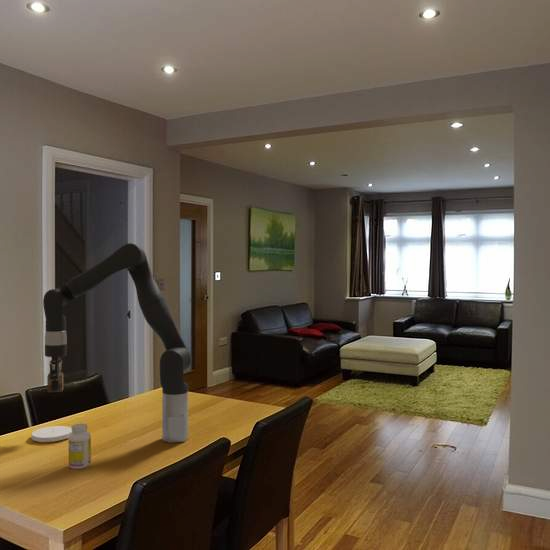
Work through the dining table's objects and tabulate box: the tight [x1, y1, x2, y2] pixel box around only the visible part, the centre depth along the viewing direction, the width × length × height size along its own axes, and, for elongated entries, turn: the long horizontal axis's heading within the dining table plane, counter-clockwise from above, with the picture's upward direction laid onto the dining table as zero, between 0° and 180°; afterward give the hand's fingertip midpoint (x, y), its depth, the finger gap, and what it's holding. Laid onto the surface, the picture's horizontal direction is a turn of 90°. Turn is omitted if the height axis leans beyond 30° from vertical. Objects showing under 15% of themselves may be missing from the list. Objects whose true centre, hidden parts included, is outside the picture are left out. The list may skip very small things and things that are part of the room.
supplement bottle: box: [67, 423, 92, 470], centre depth 169 cm, size 7×7×13 cm
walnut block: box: [46, 372, 64, 393], centre depth 198 cm, size 5×5×6 cm
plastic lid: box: [31, 425, 72, 443], centre depth 197 cm, size 14×14×2 cm
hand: (55, 388), depth 198 cm, fingers closed on walnut block, 5 cm apart
